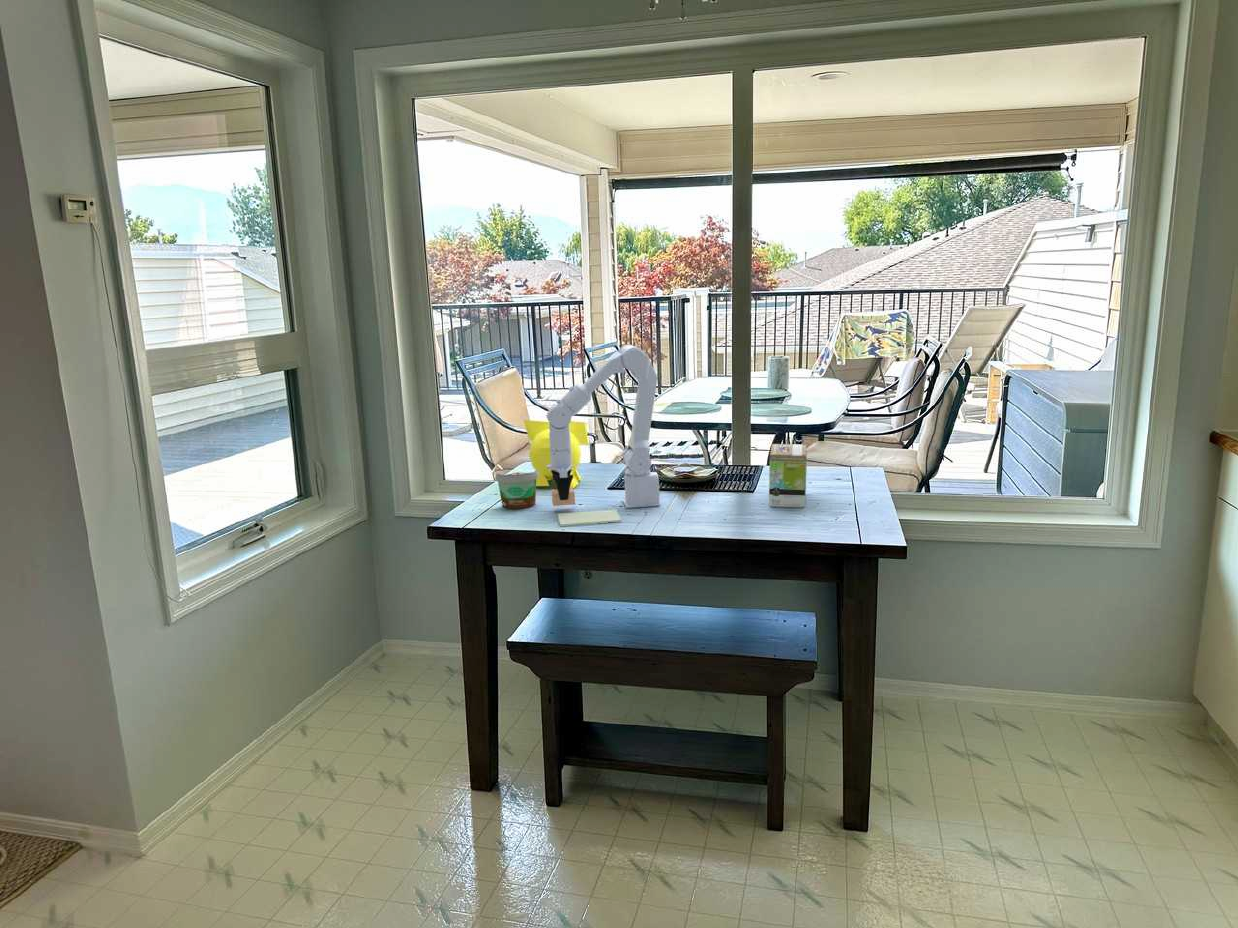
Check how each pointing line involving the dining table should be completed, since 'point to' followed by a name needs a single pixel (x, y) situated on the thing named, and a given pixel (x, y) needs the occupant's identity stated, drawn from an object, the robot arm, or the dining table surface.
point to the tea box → (787, 475)
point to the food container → (517, 490)
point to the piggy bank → (541, 449)
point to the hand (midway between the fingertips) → (563, 497)
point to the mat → (588, 517)
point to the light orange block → (558, 502)
